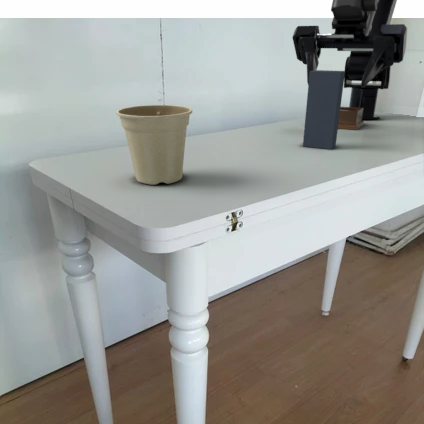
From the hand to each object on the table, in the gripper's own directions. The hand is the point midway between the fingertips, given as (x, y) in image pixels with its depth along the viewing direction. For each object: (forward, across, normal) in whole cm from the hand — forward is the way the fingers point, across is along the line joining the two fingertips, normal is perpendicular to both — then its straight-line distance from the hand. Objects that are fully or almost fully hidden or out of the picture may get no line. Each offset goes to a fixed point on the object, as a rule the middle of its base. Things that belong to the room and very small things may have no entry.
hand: (334, 84), depth 77 cm
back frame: (-4, -2, +18) cm, 18 cm away
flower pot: (+31, -14, -18) cm, 39 cm away
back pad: (+11, 0, +2) cm, 11 cm away
